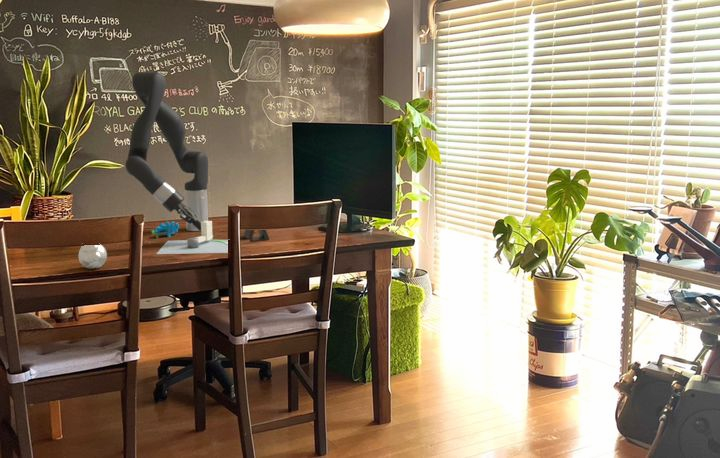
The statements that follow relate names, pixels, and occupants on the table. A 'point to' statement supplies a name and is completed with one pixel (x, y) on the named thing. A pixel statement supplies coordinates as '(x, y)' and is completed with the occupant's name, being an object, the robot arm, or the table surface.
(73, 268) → the table surface
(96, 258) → the grey round ball
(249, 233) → the door stopper
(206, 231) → the white l-shaped block
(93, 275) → the table surface
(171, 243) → the board
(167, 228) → the blue toy animal
